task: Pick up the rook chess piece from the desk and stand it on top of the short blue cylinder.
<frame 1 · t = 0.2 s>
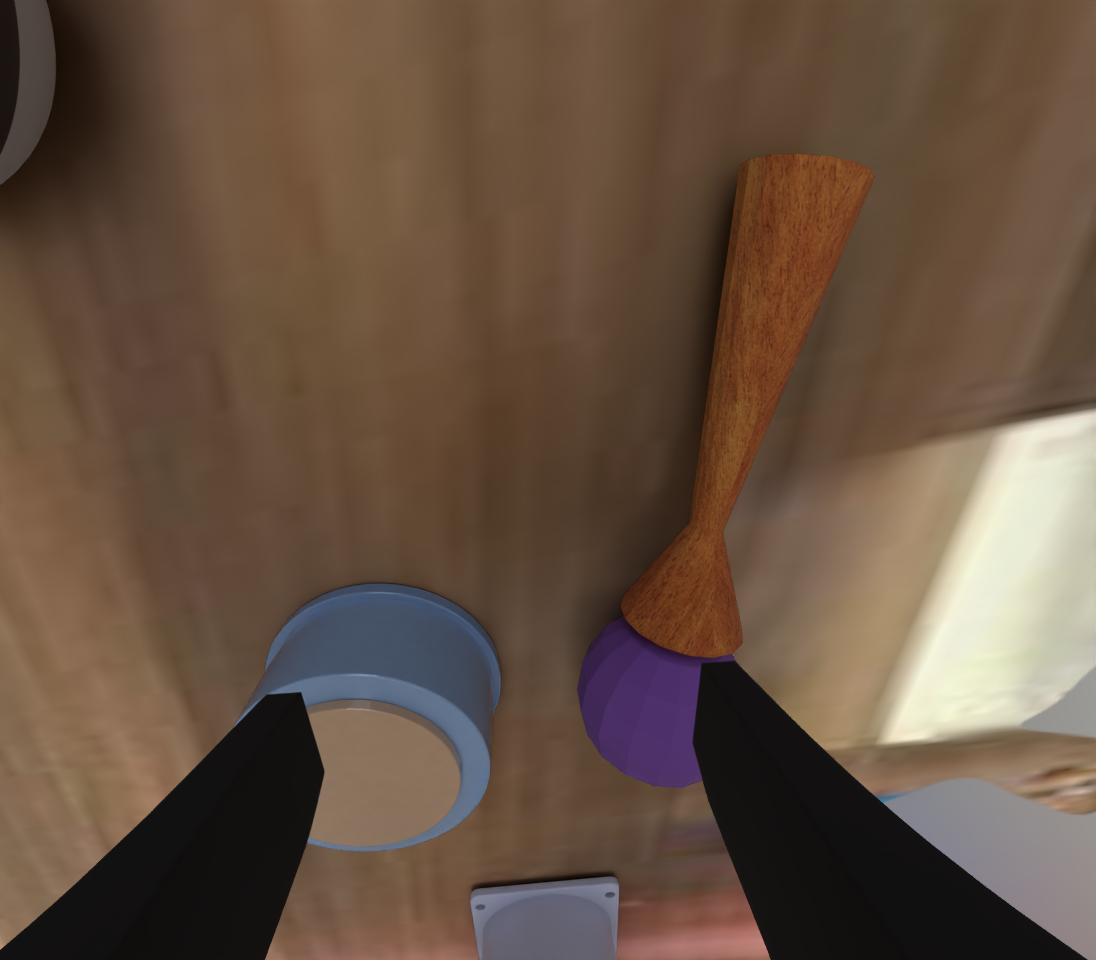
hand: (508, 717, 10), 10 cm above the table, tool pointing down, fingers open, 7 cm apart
short blue cylinder: (388, 676, 22), on the table
kendama: (683, 484, 19), on the table
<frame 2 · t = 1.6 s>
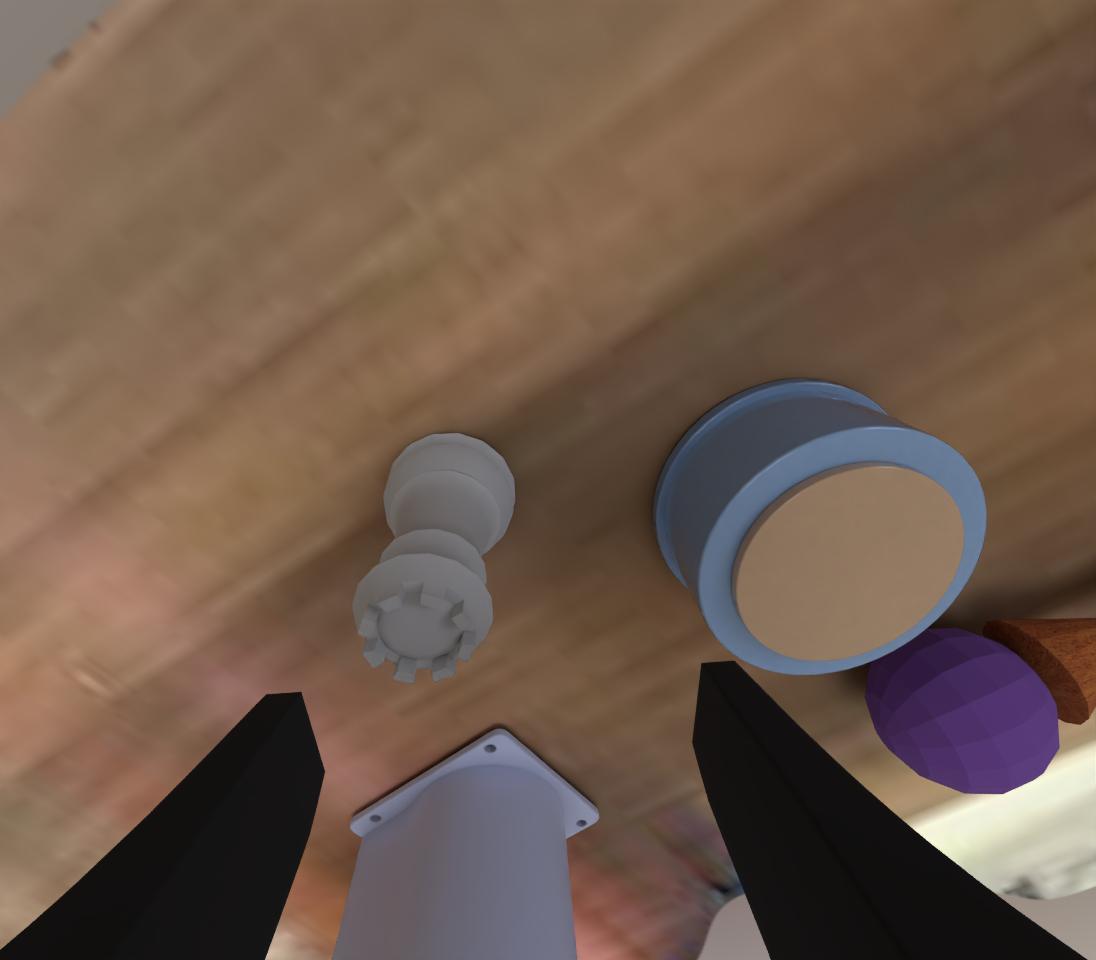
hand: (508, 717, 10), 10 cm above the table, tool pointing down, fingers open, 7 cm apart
short blue cylinder: (774, 500, 20), on the table
kendama: (1058, 587, 23), on the table
rook chess piece: (453, 484, 19), on the table
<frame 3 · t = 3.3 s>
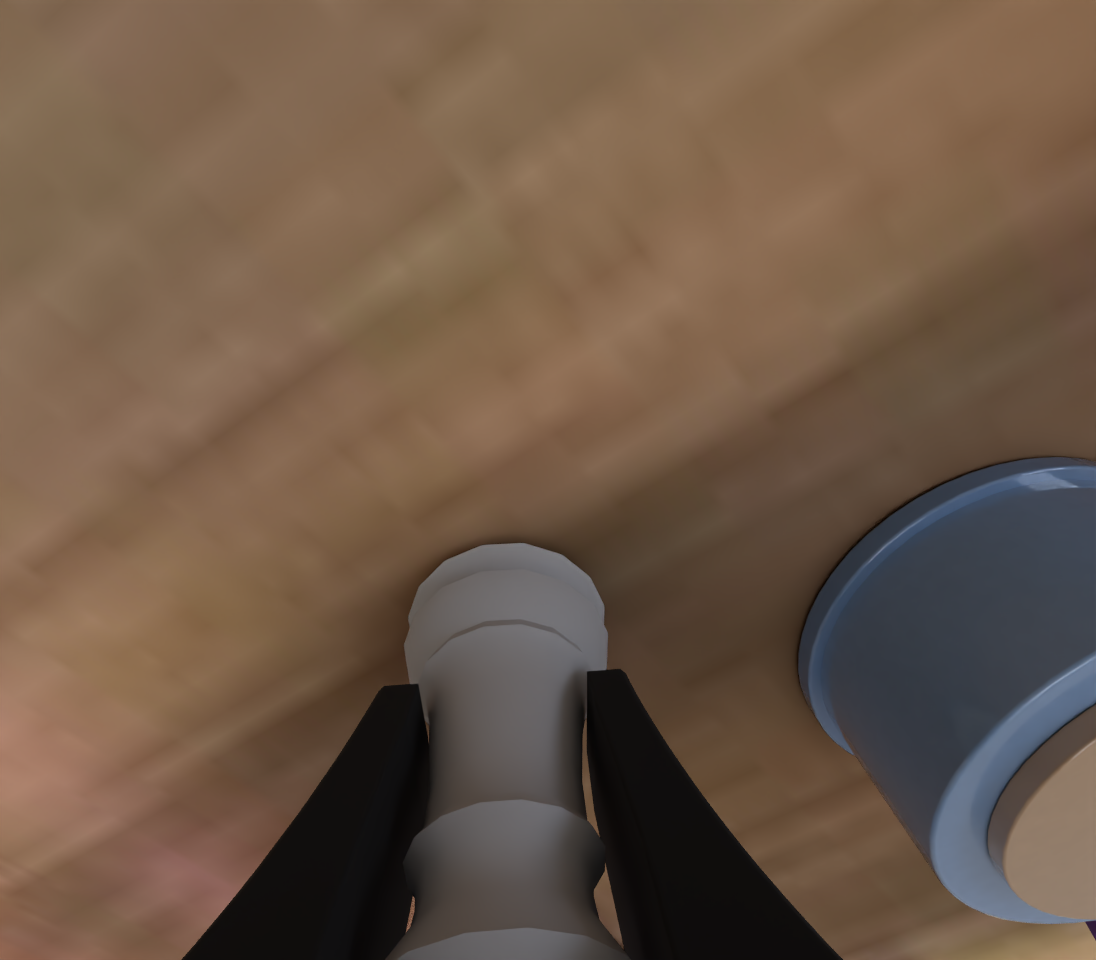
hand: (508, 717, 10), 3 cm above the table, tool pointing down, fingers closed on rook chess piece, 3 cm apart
short blue cylinder: (977, 626, 13), on the table
rook chess piece: (508, 608, 13), on the table, touching gripper
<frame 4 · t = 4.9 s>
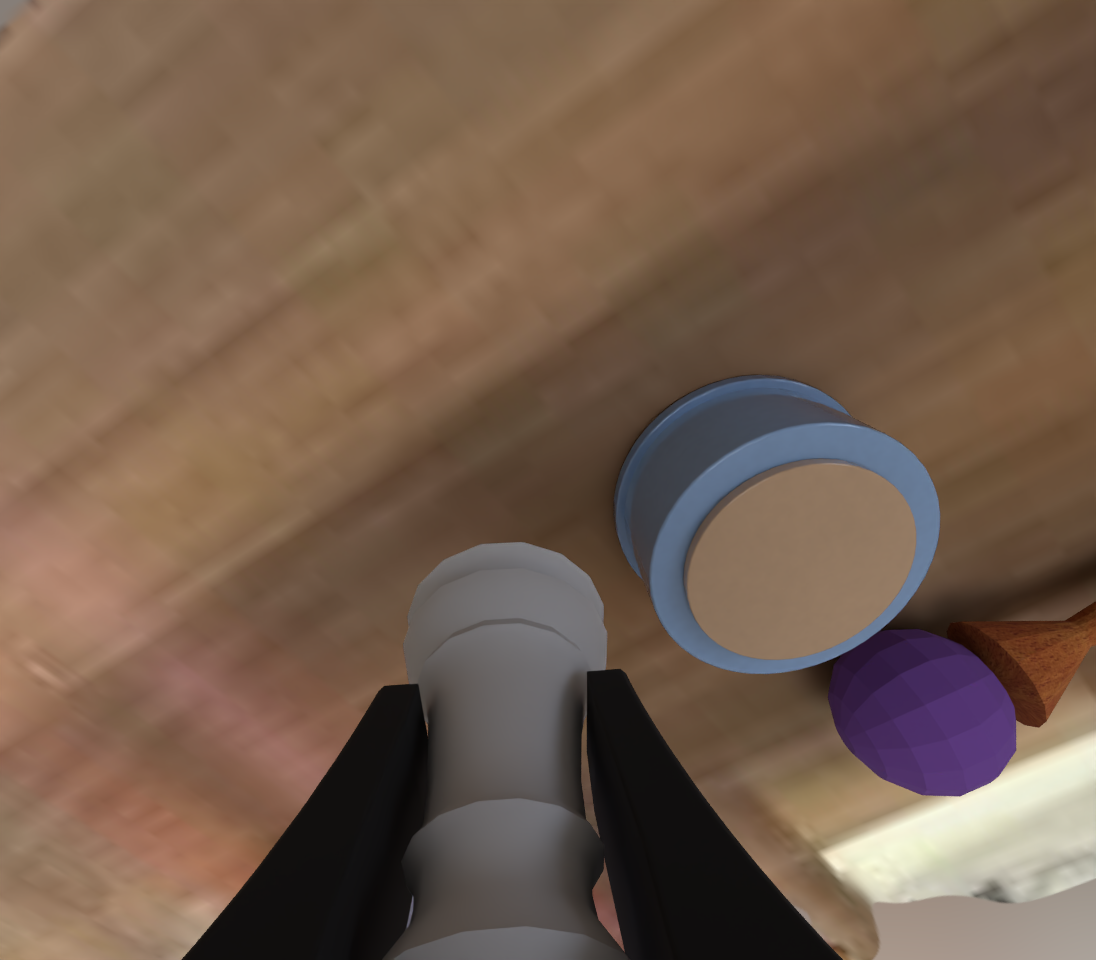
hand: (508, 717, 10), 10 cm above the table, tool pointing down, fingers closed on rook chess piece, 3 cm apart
short blue cylinder: (737, 498, 20), on the table
kendama: (1023, 590, 23), on the table
rook chess piece: (507, 607, 13), point 7 cm above the table, touching gripper
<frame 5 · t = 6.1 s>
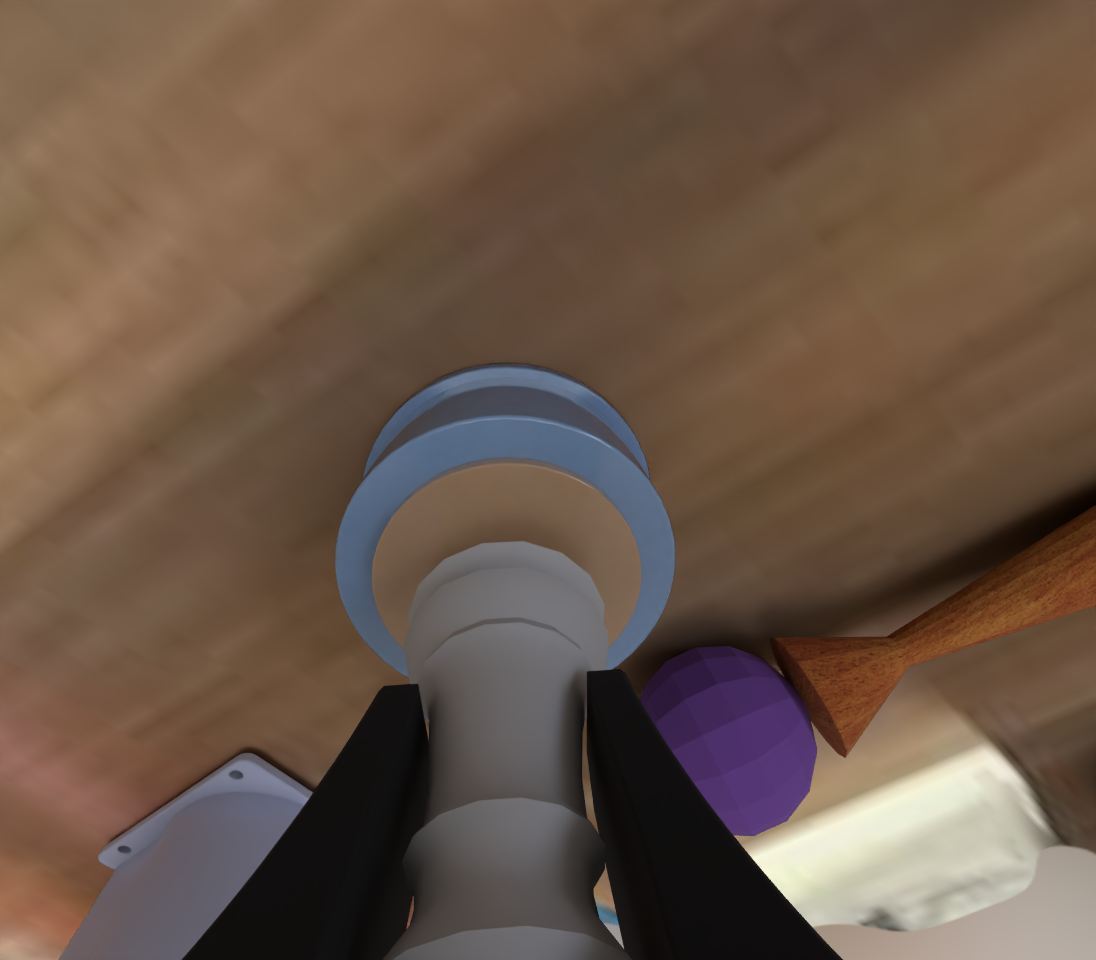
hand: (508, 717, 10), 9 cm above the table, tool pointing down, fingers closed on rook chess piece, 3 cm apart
short blue cylinder: (509, 502, 18), on the table
kendama: (859, 600, 21), on the table
rook chess piece: (508, 606, 13), point 6 cm above the table, touching gripper
when the fingers open (8 cm above the table, at t = 6.7 s): rook chess piece stays where it is, resting on short blue cylinder.
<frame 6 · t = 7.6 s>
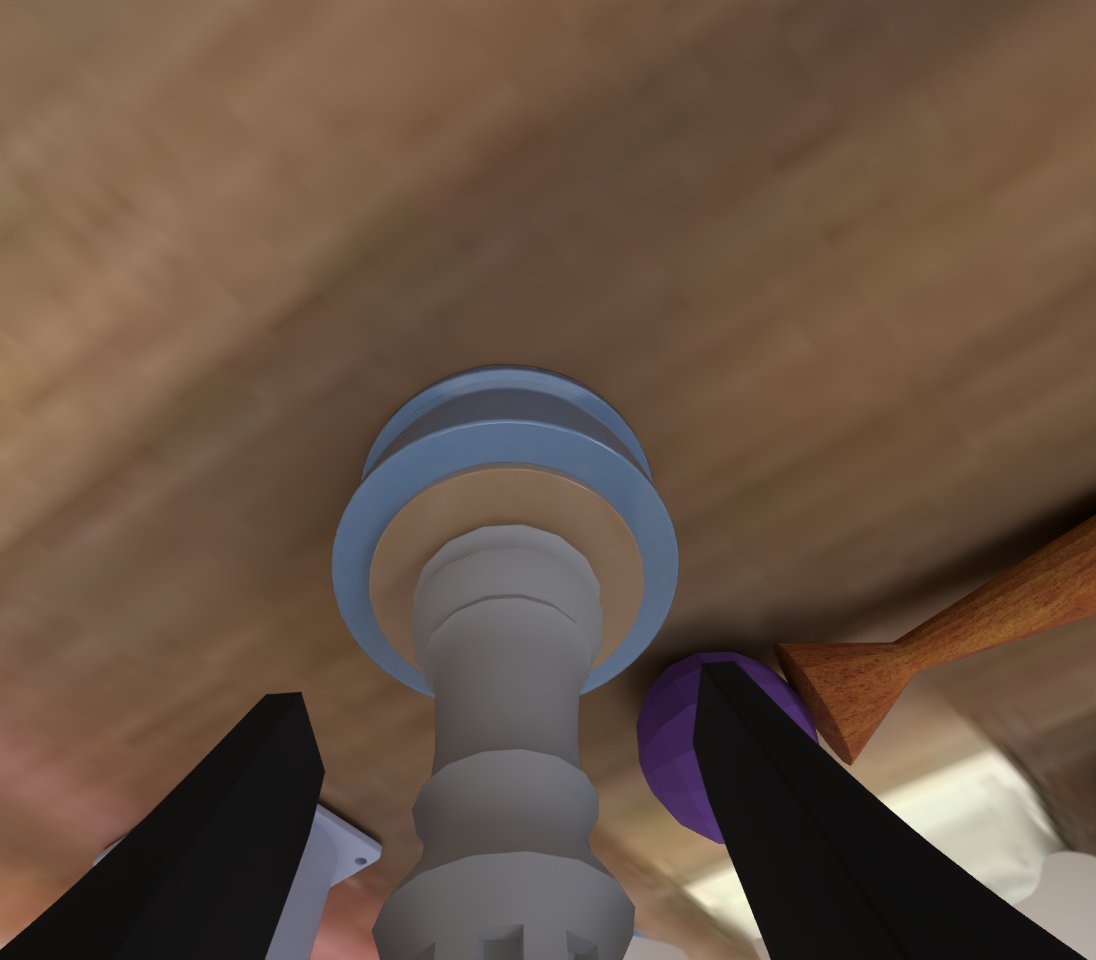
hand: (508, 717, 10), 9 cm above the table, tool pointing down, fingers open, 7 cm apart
short blue cylinder: (509, 506, 17), on the table
kendama: (864, 605, 20), on the table
rook chess piece: (508, 588, 13), point 5 cm above the table, touching short blue cylinder
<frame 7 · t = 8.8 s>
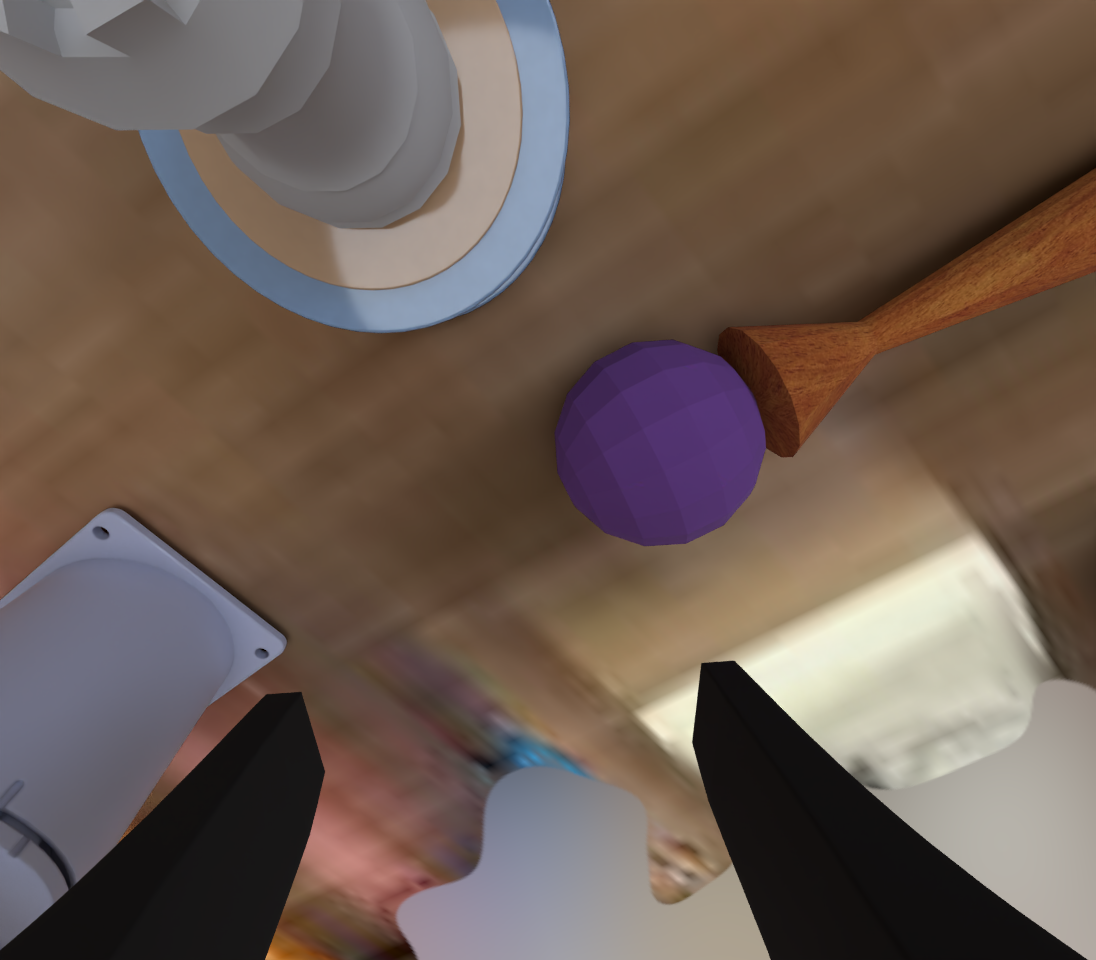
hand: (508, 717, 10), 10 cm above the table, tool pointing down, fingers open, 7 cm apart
short blue cylinder: (397, 148, 15), on the table
kendama: (824, 322, 18), on the table
rook chess piece: (351, 107, 10), point 5 cm above the table, touching short blue cylinder
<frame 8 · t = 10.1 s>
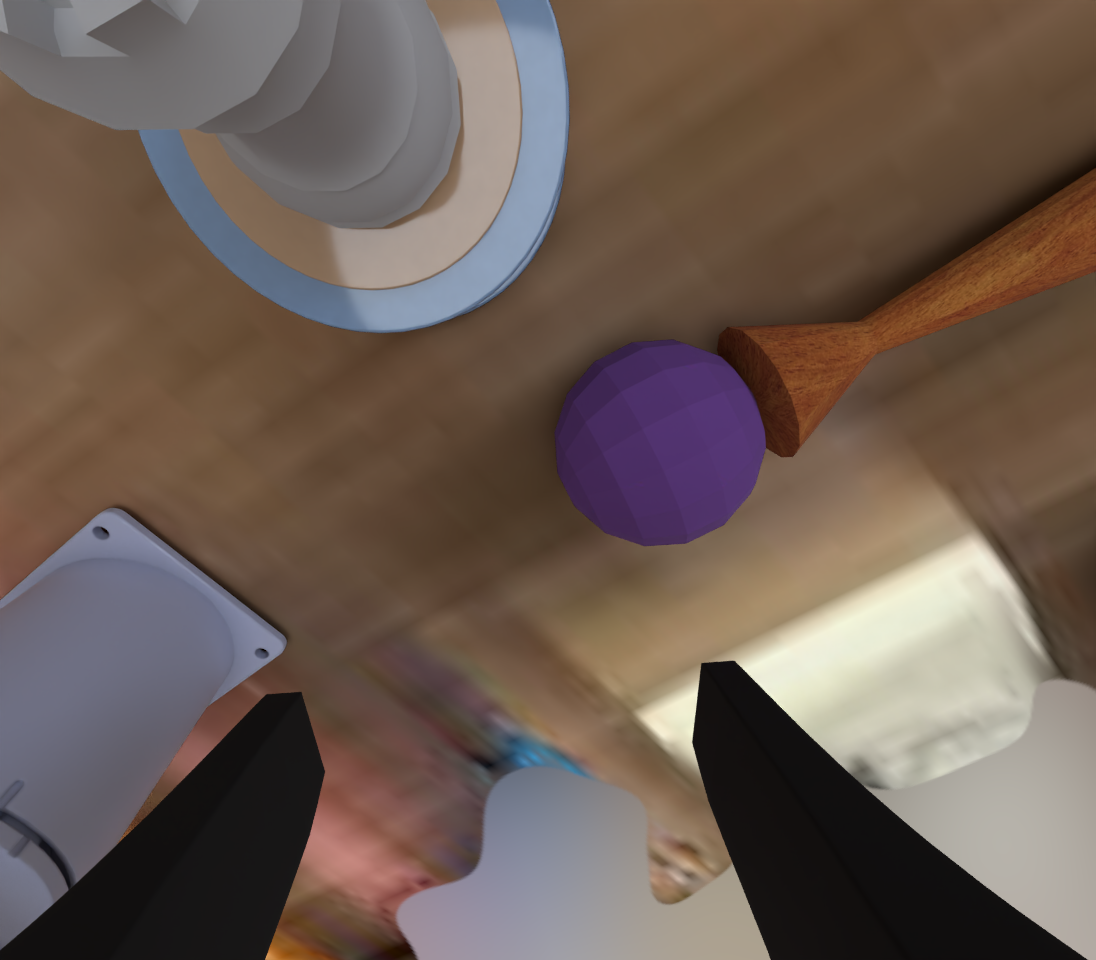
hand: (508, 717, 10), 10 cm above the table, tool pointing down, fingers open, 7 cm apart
short blue cylinder: (397, 148, 15), on the table
kendama: (824, 322, 18), on the table
rook chess piece: (351, 107, 10), point 5 cm above the table, touching short blue cylinder
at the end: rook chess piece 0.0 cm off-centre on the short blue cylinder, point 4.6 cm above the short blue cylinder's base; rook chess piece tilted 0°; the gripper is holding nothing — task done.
